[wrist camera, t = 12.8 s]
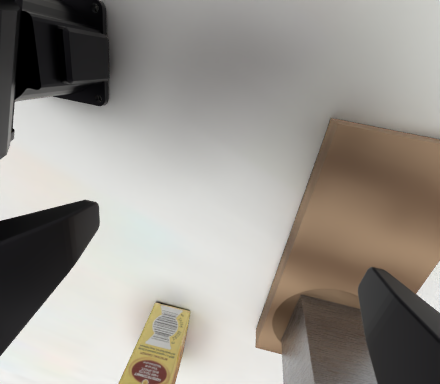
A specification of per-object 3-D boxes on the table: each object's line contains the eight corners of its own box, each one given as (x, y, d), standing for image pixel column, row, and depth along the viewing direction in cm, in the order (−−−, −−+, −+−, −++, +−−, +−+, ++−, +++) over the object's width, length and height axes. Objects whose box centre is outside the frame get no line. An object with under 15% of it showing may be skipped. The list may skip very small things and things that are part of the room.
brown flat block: (352, 353, 27) (369, 411, 22) (256, 329, 27) (254, 379, 23) (486, 148, 17) (564, 178, 13) (330, 118, 18) (352, 135, 13)
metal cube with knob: (281, 339, 25) (287, 460, 17) (300, 294, 22) (319, 414, 14) (345, 355, 24) (381, 487, 17) (373, 312, 22) (431, 445, 14)
